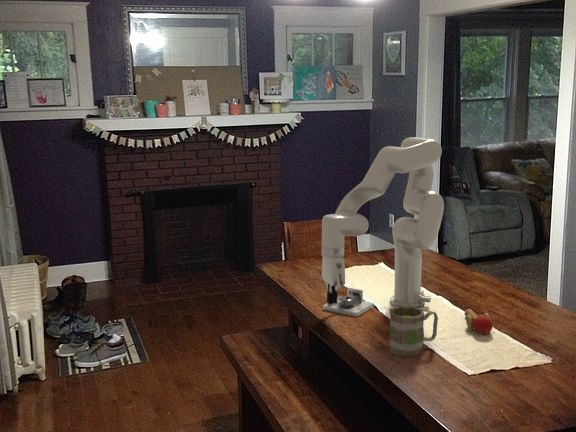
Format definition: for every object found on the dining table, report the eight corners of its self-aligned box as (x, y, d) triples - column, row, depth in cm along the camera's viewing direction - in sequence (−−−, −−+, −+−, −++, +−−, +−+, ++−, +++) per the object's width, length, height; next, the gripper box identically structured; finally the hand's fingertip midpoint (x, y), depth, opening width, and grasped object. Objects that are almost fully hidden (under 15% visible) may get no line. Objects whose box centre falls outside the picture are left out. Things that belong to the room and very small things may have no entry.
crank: (346, 299, 238) (346, 279, 236) (358, 303, 234) (358, 283, 232) (322, 307, 230) (321, 287, 229) (334, 312, 226) (333, 291, 224)
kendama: (455, 321, 224) (471, 334, 206) (458, 303, 223) (475, 314, 205) (477, 324, 224) (495, 338, 206) (480, 306, 224) (499, 318, 206)
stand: (373, 306, 235) (373, 291, 234) (356, 317, 226) (356, 300, 225) (340, 300, 244) (340, 284, 242) (322, 309, 234) (322, 293, 233)
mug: (397, 359, 191) (398, 320, 189) (382, 345, 202) (382, 308, 199) (445, 351, 196) (446, 313, 193) (428, 338, 206) (429, 302, 203)
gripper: (352, 255, 215) (351, 308, 219) (334, 245, 229) (333, 295, 233) (331, 257, 213) (330, 311, 216) (314, 247, 227) (313, 297, 230)
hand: (332, 302), depth 224 cm, fingers closed
